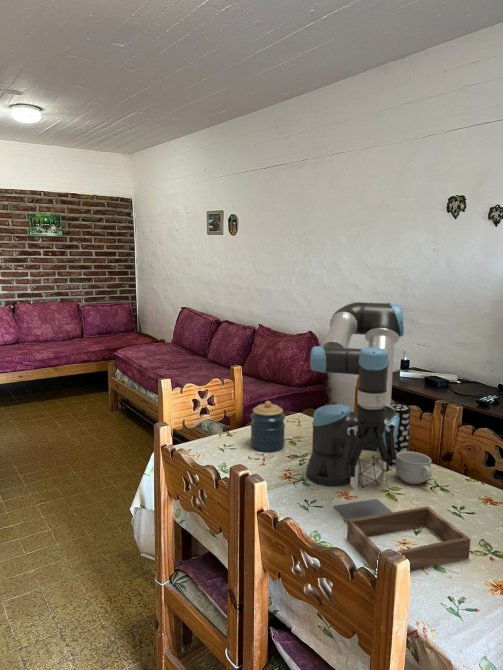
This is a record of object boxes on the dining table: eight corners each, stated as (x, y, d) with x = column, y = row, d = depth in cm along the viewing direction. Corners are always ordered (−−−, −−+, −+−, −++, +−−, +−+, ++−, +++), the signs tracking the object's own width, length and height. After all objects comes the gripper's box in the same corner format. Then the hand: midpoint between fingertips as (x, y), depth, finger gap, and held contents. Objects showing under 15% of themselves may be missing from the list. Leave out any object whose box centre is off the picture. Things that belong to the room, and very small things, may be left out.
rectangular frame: (346, 538, 125) (347, 520, 124) (426, 523, 132) (427, 506, 131) (381, 577, 110) (382, 557, 109) (468, 558, 117) (470, 539, 116)
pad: (334, 507, 140) (334, 505, 140) (376, 500, 145) (376, 498, 144) (354, 529, 129) (355, 527, 129) (400, 521, 133) (400, 519, 133)
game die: (372, 500, 135) (387, 483, 128) (343, 487, 136) (356, 469, 129) (378, 474, 141) (392, 456, 134) (350, 461, 142) (363, 443, 135)
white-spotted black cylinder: (381, 464, 169) (384, 409, 166) (384, 455, 177) (387, 402, 174) (406, 468, 166) (410, 412, 163) (408, 459, 174) (411, 405, 171)
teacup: (389, 473, 163) (391, 450, 162) (421, 472, 164) (422, 449, 162) (406, 493, 149) (407, 468, 148) (440, 492, 150) (442, 467, 149)
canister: (246, 450, 181) (247, 404, 178) (254, 438, 193) (254, 395, 190) (281, 454, 178) (282, 407, 175) (287, 441, 190) (287, 397, 188)
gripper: (343, 413, 125) (340, 496, 129) (413, 406, 131) (408, 486, 135) (330, 404, 132) (327, 483, 136) (396, 398, 138) (392, 474, 142)
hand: (367, 484), depth 135 cm, fingers closed on game die, 8 cm apart
